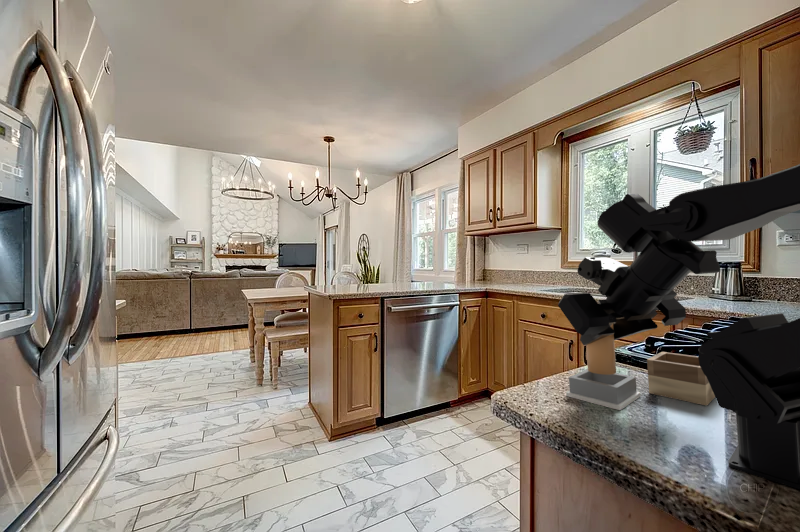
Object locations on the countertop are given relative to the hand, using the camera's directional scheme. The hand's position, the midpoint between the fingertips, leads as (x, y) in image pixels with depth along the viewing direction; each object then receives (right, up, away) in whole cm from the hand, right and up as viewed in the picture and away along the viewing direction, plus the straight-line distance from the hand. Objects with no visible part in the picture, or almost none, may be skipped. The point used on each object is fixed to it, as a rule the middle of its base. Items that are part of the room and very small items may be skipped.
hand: (593, 341), depth 57 cm
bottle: (+1, -5, -1) cm, 5 cm away
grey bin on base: (+1, -9, -1) cm, 9 cm away
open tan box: (+14, -8, -2) cm, 16 cm away
